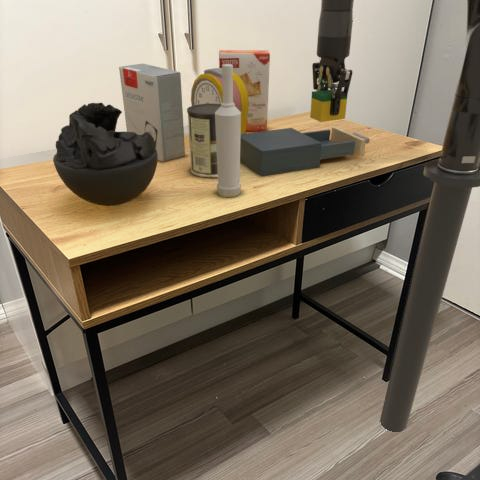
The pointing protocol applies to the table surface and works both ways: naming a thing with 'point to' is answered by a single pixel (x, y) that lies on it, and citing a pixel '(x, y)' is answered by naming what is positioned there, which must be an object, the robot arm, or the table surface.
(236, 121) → the bottle
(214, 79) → the alarm clock
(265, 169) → the cabinet
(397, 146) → the table surface
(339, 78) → the robot arm
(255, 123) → the cracker box
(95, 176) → the bowl of black rocks
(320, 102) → the sponge
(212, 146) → the coffee can
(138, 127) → the hard drive box
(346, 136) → the drawer
